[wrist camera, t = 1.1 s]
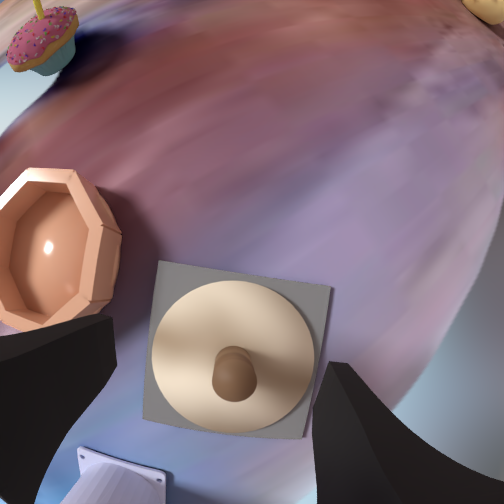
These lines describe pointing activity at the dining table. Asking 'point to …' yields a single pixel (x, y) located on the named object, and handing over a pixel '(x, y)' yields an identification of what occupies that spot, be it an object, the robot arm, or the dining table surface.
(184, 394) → the lid
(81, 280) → the octagonal bowl
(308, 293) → the mat
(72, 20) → the cupcake
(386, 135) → the dining table surface
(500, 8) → the butter
